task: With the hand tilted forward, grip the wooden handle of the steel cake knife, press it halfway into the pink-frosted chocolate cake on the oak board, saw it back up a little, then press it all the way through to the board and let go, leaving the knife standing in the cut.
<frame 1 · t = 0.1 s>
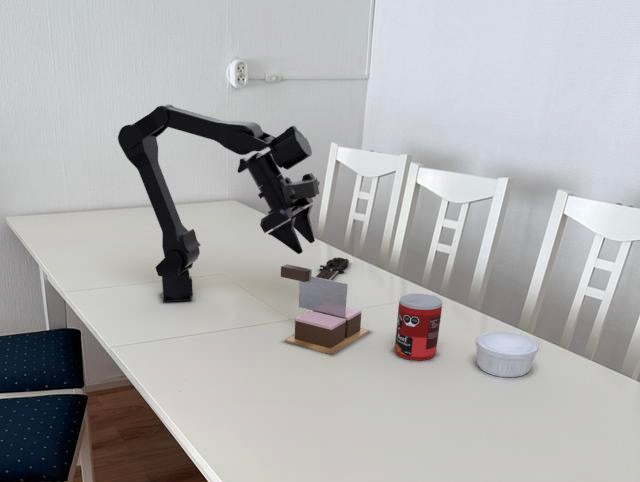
hand: (306, 247, 157), 15 cm above the table, tool tilted 35°, fingers open, 9 cm apart
cake board: (327, 337, 152), on the table
ramekin: (502, 368, 139), on the table
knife: (329, 276, 189), on the table
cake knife: (314, 290, 150), point 9 cm above the table, slide at 0.0 cm
canned food: (414, 354, 145), on the table
cake: (328, 324, 151), on the cake board
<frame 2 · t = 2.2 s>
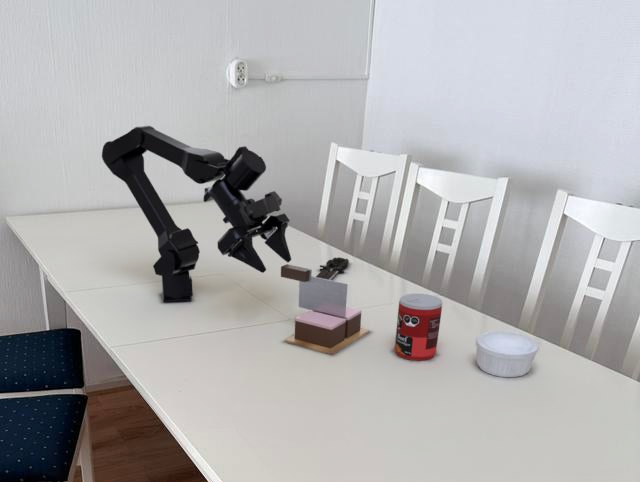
hand: (277, 266, 153), 13 cm above the table, tool tilted 45°, fingers open, 9 cm apart
nothing on the table moved.
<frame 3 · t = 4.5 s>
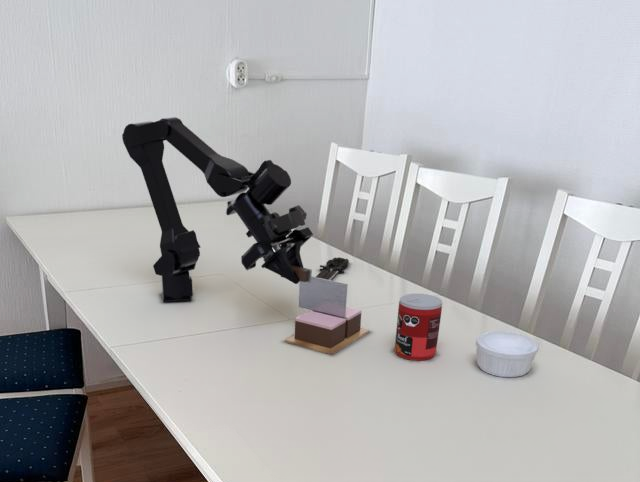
hand: (301, 281, 151), 11 cm above the table, tool tilted 45°, fingers closed on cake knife, 2 cm apart
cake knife: (314, 290, 150), point 9 cm above the table, slide at 0.0 cm, touching gripper
everything else where it was.
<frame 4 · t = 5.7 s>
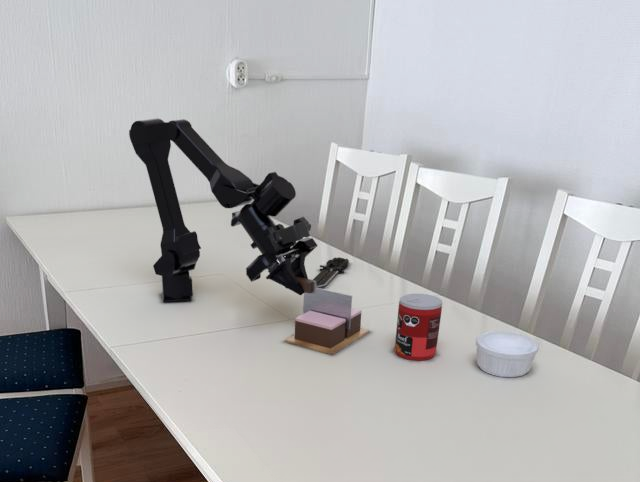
hand: (305, 292, 151), 8 cm above the table, tool tilted 45°, fingers closed on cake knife, 2 cm apart
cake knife: (318, 302, 150), point 7 cm above the table, slide at 2.5 cm, touching gripper
everything else where it was.
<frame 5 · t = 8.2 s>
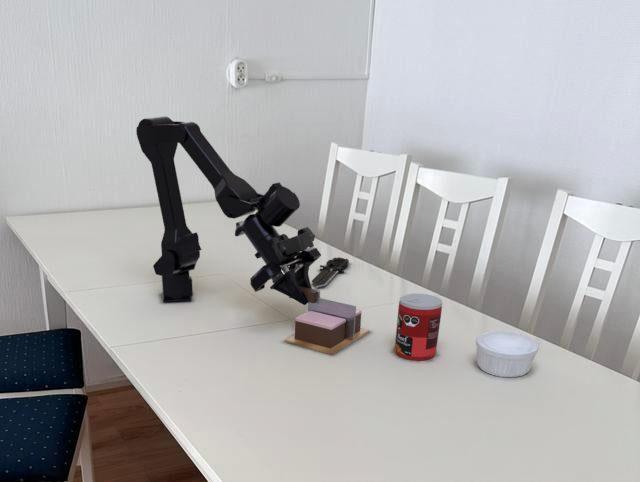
hand: (309, 302, 151), 7 cm above the table, tool tilted 45°, fingers closed on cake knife, 2 cm apart
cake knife: (322, 311, 150), point 5 cm above the table, slide at 4.6 cm, touching gripper
everything else where it was.
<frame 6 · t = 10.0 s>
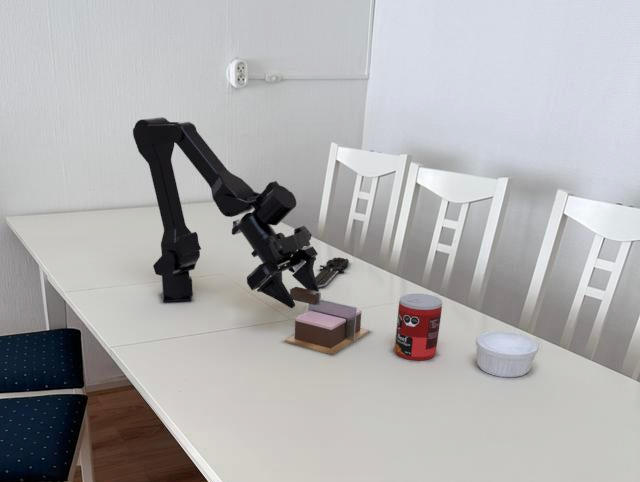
hand: (306, 300, 152), 7 cm above the table, tool tilted 45°, fingers open, 9 cm apart
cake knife: (323, 313, 150), point 5 cm above the table, slide at 4.9 cm
everything else where it was.
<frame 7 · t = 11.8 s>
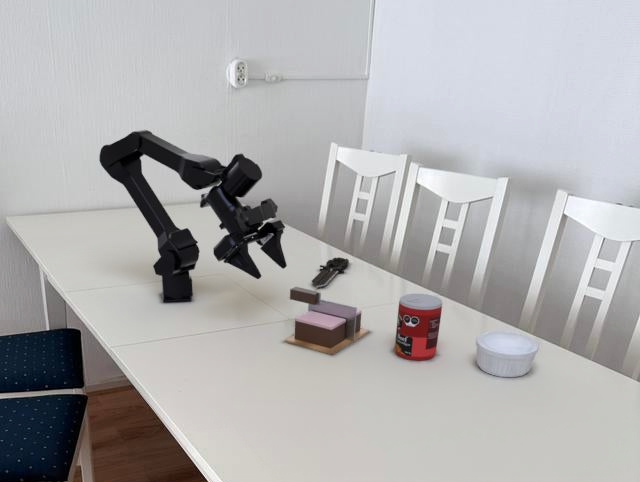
hand: (272, 272, 154), 11 cm above the table, tool tilted 45°, fingers open, 9 cm apart
nothing on the table moved.
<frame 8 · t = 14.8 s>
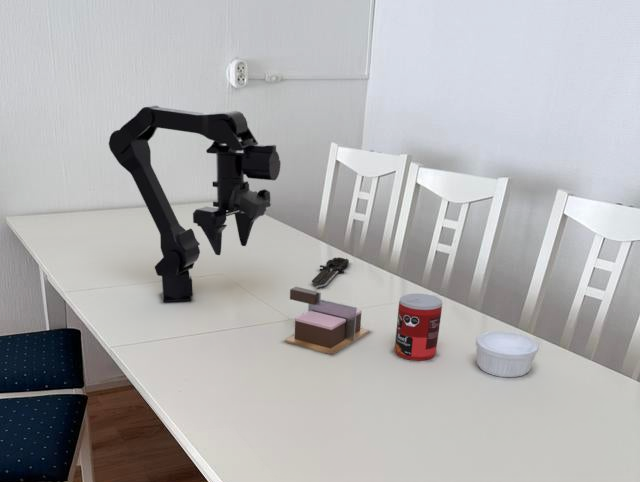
hand: (231, 250, 162), 13 cm above the table, tool pointing down, fingers open, 9 cm apart
nothing on the table moved.
at the end: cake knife pulled out 5.0 cm at the most during the clip, back to 4.9 cm at the end; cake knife slide at 4.9 cm; the gripper is holding nothing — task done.
